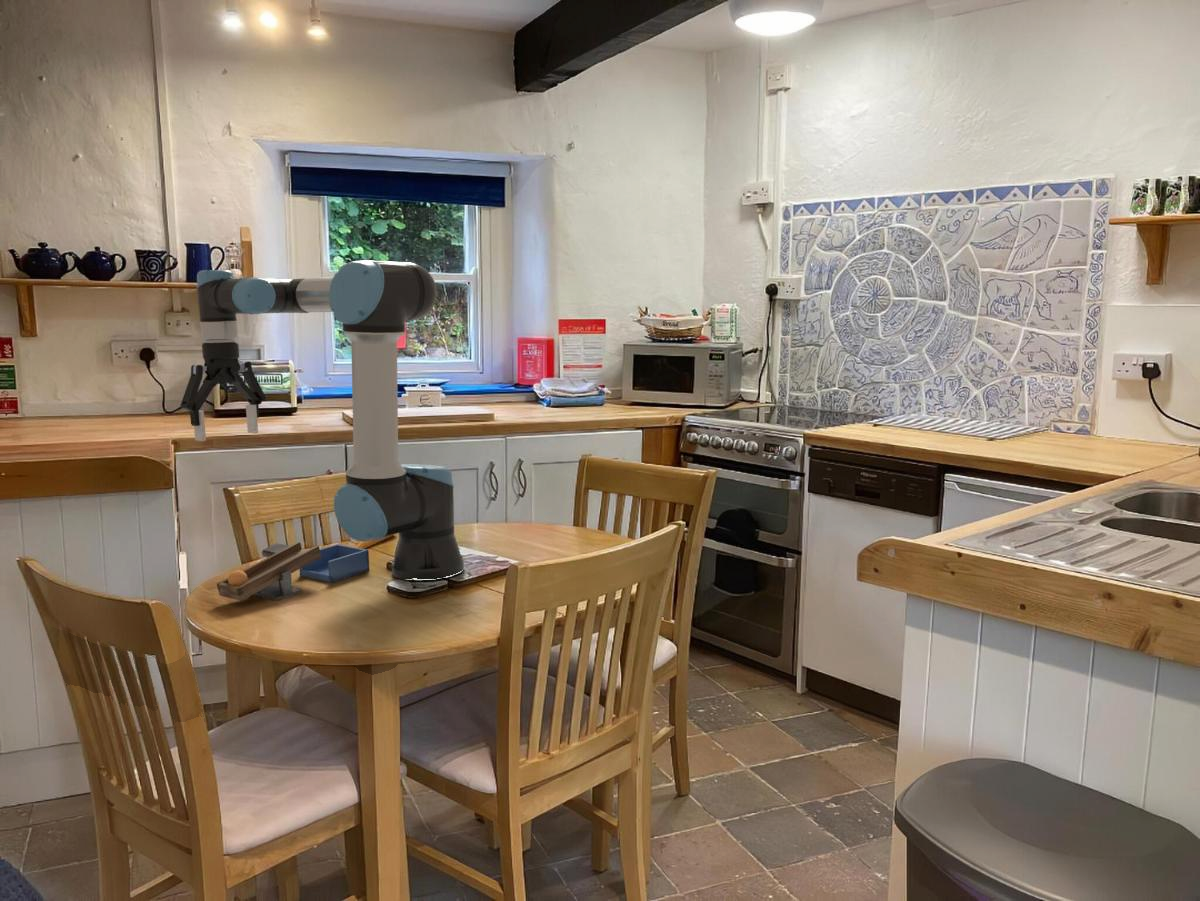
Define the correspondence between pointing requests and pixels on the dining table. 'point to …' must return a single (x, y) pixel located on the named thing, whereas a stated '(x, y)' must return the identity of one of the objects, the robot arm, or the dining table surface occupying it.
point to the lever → (270, 569)
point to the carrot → (370, 542)
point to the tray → (337, 563)
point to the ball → (237, 578)
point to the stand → (279, 588)
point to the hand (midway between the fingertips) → (227, 436)
